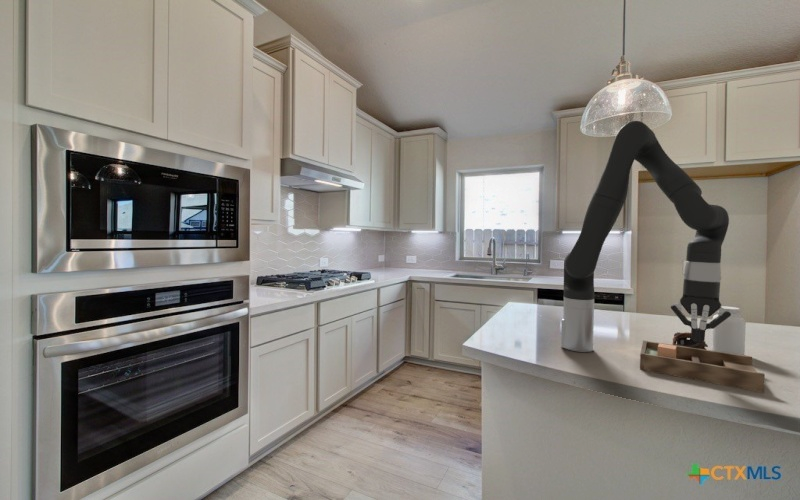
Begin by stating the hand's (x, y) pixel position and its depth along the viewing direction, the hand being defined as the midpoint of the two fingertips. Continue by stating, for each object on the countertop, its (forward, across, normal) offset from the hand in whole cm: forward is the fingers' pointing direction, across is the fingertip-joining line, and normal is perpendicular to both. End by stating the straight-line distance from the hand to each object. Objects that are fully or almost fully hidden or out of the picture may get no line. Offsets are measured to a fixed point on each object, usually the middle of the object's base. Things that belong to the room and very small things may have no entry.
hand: (697, 342), depth 96 cm
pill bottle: (+9, -9, -31) cm, 33 cm away
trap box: (+9, -1, -4) cm, 10 cm away
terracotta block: (+7, +6, -2) cm, 9 cm away
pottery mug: (+10, +1, -21) cm, 23 cm away
